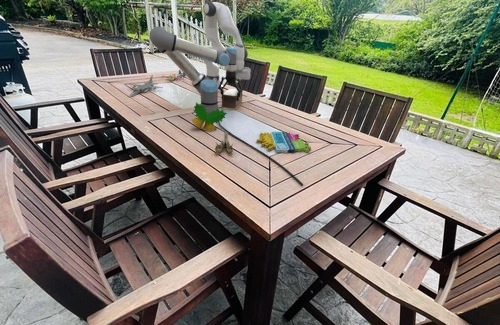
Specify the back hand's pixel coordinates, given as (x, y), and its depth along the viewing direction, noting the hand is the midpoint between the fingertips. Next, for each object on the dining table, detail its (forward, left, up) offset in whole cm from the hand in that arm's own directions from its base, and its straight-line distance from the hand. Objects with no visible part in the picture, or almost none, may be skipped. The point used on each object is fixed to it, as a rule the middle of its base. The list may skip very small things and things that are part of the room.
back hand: (237, 84), depth 216 cm
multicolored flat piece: (+86, -9, -14) cm, 88 cm away
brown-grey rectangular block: (+12, -9, -14) cm, 20 cm away
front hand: (+16, -13, -8) cm, 22 cm away
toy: (-92, -31, -14) cm, 98 cm away
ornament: (+53, -42, -14) cm, 69 cm away
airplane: (-46, -69, -14) cm, 84 cm away
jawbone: (+86, -44, -14) cm, 97 cm away
